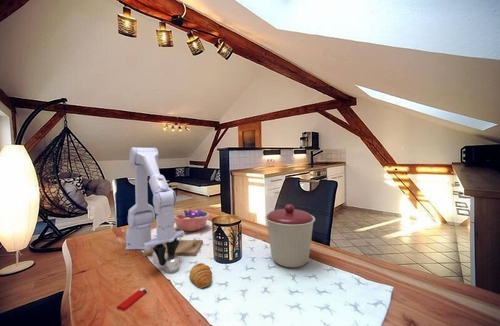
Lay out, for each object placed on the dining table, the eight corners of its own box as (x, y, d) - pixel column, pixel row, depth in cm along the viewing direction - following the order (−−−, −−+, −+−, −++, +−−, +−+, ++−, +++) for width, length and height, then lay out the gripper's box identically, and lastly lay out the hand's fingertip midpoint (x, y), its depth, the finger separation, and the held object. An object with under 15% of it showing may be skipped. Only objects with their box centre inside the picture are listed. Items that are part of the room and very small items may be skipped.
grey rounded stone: (151, 263, 76) (151, 253, 76) (161, 259, 80) (161, 249, 79) (171, 274, 69) (171, 263, 69) (181, 269, 72) (181, 258, 72)
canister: (314, 278, 66) (314, 212, 65) (259, 269, 72) (259, 208, 71) (315, 253, 83) (315, 200, 82) (271, 247, 89) (271, 198, 88)
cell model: (180, 224, 122) (180, 204, 121) (213, 224, 119) (213, 205, 119) (166, 235, 105) (165, 212, 104) (204, 236, 103) (203, 213, 102)
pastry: (217, 285, 63) (216, 273, 63) (194, 292, 60) (194, 280, 60) (207, 270, 72) (207, 259, 72) (187, 276, 68) (187, 265, 68)
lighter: (116, 305, 54) (141, 287, 62) (116, 310, 54) (141, 291, 62) (124, 307, 53) (148, 288, 61) (125, 312, 53) (148, 292, 61)
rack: (142, 256, 82) (142, 246, 82) (156, 243, 94) (156, 234, 94) (195, 256, 82) (195, 246, 82) (202, 243, 94) (202, 234, 94)
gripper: (151, 233, 65) (152, 275, 66) (189, 221, 77) (190, 257, 78) (140, 229, 70) (141, 268, 70) (177, 218, 81) (178, 252, 82)
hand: (166, 262), depth 74 cm, fingers closed on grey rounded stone, 3 cm apart
